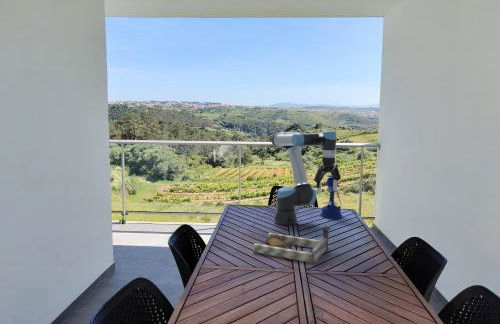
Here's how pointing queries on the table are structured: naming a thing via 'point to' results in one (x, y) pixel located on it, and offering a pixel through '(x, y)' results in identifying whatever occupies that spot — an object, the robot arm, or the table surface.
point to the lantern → (331, 203)
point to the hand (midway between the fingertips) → (327, 191)
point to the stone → (275, 241)
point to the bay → (294, 254)
